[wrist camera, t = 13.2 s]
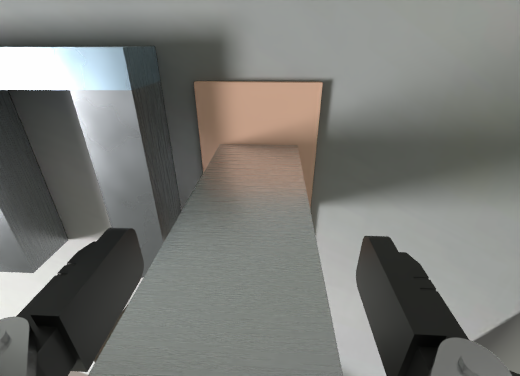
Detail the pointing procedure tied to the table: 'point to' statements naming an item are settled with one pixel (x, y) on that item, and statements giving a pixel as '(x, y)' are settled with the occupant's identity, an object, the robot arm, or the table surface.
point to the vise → (98, 143)
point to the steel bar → (233, 280)
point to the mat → (260, 117)
